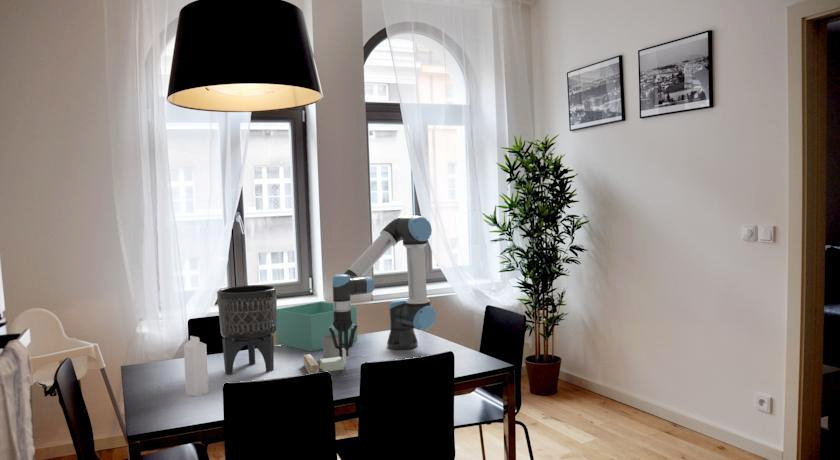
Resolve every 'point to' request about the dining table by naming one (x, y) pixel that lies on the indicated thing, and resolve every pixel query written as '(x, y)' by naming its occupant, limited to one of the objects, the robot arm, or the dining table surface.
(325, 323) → the box
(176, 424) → the dining table surface
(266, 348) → the planter
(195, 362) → the milk
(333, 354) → the cup
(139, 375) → the dining table surface
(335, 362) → the block
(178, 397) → the dining table surface
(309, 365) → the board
